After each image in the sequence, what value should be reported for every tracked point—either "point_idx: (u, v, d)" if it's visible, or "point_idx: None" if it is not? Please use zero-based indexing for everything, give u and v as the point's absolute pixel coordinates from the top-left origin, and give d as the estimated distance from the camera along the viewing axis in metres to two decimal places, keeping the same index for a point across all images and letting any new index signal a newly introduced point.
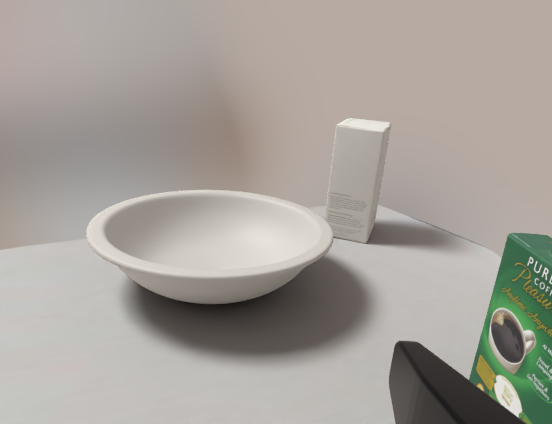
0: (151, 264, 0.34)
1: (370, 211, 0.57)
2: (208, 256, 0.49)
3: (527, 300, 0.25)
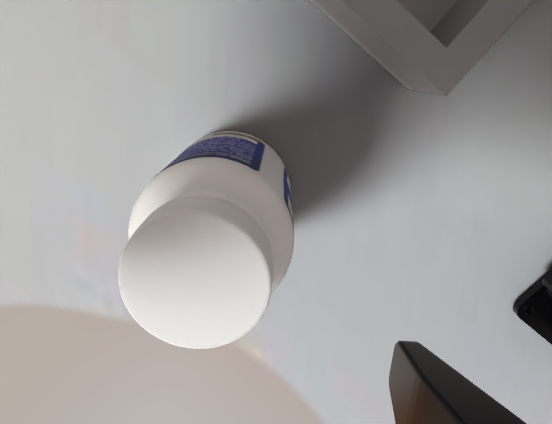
0: None
1: None
2: None
3: None
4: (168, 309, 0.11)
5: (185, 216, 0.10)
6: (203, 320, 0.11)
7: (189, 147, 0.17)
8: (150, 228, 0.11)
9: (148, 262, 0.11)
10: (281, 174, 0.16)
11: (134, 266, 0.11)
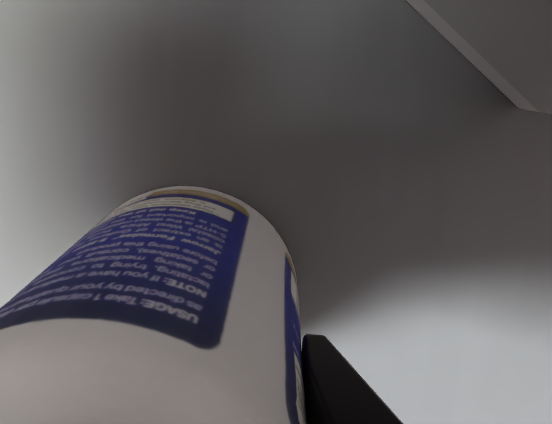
0: None
1: None
2: None
3: None
4: None
5: None
6: None
7: (93, 229, 0.08)
8: None
9: None
10: (280, 288, 0.08)
11: None
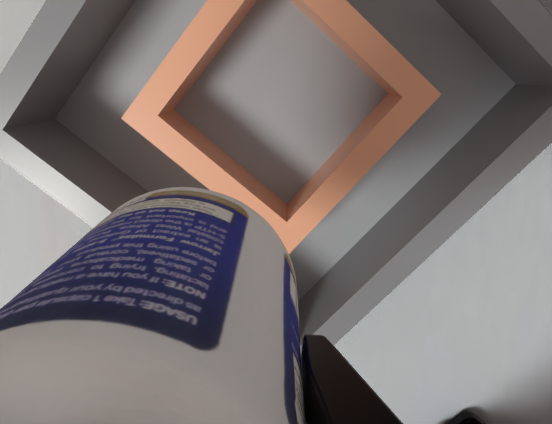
0: None
1: None
2: None
3: None
4: None
5: None
6: None
7: (93, 230, 0.08)
8: None
9: None
10: (279, 289, 0.08)
11: None
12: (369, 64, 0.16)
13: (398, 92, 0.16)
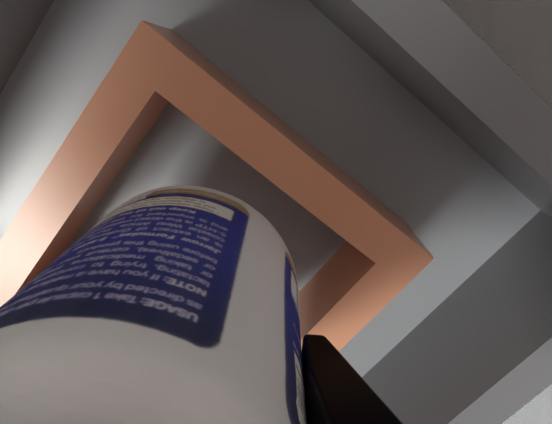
0: None
1: None
2: None
3: None
4: None
5: None
6: None
7: (93, 228, 0.08)
8: None
9: None
10: (280, 287, 0.08)
11: None
12: (322, 220, 0.10)
13: (368, 256, 0.11)
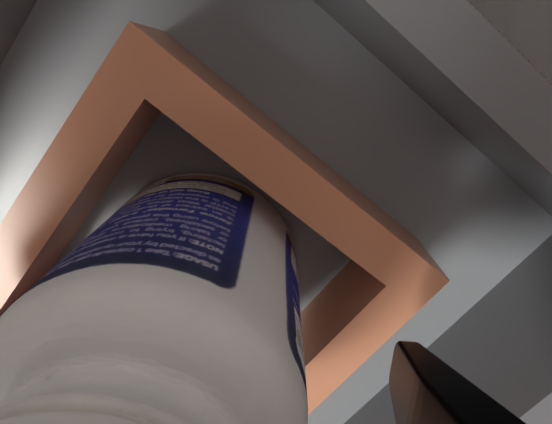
0: None
1: None
2: None
3: None
4: None
5: None
6: None
7: (122, 207, 0.10)
8: None
9: None
10: (281, 256, 0.09)
11: None
12: (328, 239, 0.09)
13: (378, 278, 0.10)
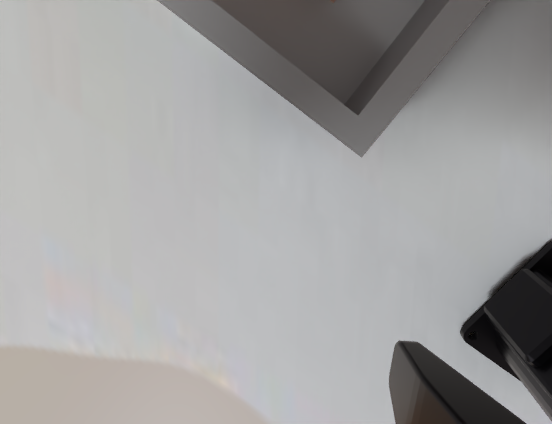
0: None
1: None
2: None
3: None
4: None
5: None
6: None
7: None
8: None
9: None
10: None
11: None
12: None
13: None
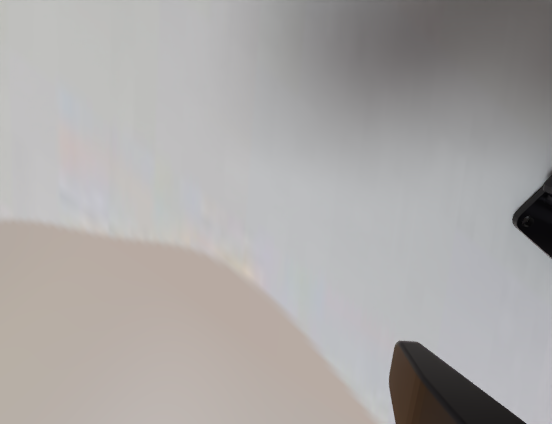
0: None
1: None
2: None
3: None
4: None
5: None
6: None
7: None
8: None
9: None
10: None
11: None
12: None
13: None
